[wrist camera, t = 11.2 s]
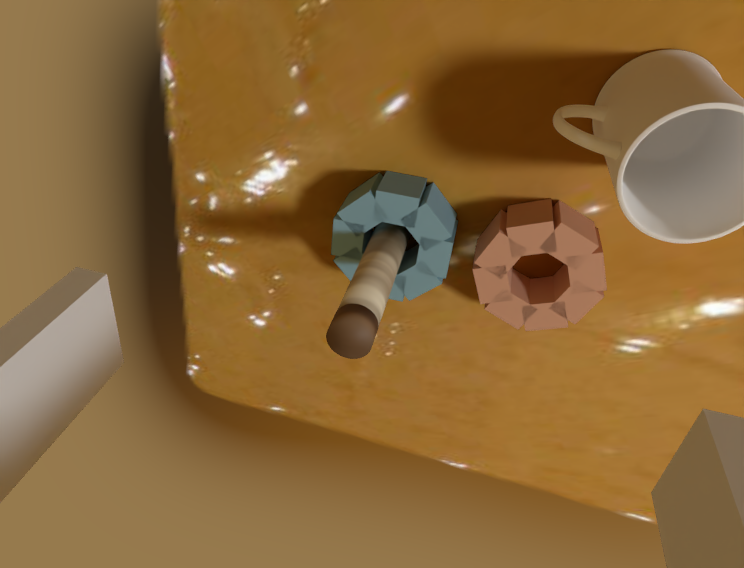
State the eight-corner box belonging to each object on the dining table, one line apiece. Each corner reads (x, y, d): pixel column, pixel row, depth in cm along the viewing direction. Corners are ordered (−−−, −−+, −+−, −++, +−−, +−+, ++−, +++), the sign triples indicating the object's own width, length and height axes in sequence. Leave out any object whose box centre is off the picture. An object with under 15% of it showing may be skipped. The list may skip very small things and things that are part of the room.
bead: (349, 163, 48) (336, 182, 45) (465, 185, 47) (461, 206, 43) (340, 262, 53) (328, 285, 50) (444, 284, 52) (439, 309, 49)
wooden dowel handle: (380, 207, 49) (327, 317, 36) (414, 214, 49) (374, 327, 36) (376, 238, 51) (324, 352, 38) (409, 245, 51) (369, 363, 38)
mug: (530, 135, 43) (531, 202, 34) (581, 17, 38) (599, 55, 29) (681, 185, 43) (726, 267, 33) (752, 71, 38) (831, 128, 28)
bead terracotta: (468, 212, 48) (464, 234, 45) (593, 191, 45) (599, 214, 41) (489, 307, 53) (487, 334, 49) (604, 295, 49) (610, 323, 46)
